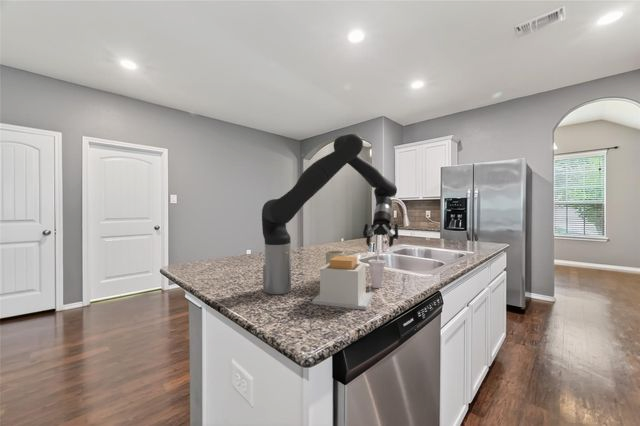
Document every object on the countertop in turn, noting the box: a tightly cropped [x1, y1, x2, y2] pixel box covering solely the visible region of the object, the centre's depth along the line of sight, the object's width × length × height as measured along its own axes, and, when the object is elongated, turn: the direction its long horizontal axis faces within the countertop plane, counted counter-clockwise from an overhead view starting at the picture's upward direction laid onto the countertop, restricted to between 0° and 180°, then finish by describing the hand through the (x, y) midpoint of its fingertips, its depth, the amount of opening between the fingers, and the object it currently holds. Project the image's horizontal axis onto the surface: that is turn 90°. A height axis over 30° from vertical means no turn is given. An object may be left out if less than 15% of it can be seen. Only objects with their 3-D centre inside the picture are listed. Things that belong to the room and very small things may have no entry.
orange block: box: [329, 255, 358, 270], centre depth 89 cm, size 7×7×8 cm
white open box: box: [311, 262, 374, 311], centre depth 89 cm, size 17×13×11 cm
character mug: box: [325, 250, 345, 265], centre depth 104 cm, size 11×7×13 cm, turn 13°
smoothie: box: [367, 248, 386, 289], centre depth 103 cm, size 6×6×14 cm
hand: (379, 245), depth 111 cm, fingers open, 8 cm apart
